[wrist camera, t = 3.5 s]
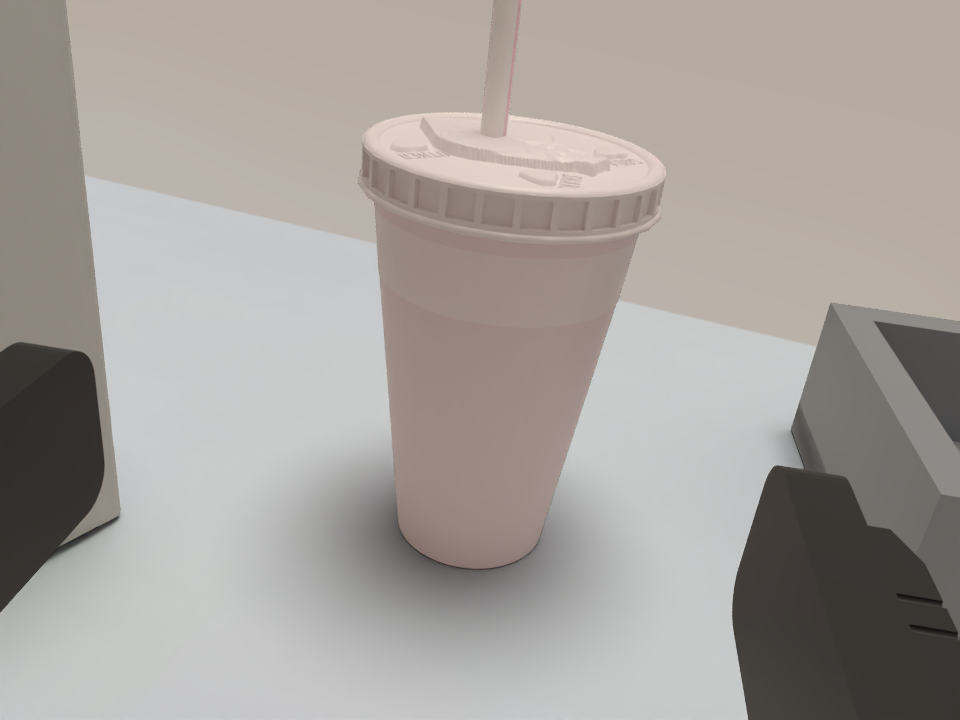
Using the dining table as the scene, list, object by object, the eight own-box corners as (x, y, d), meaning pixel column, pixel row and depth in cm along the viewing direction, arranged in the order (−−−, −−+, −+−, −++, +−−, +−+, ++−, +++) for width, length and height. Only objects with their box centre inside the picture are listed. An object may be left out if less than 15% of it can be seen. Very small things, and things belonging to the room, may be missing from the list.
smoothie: (440, 426, 26) (490, -94, 20) (634, 512, 24) (765, -63, 17) (289, 529, 21) (292, -118, 15) (511, 654, 19) (632, -80, 12)
